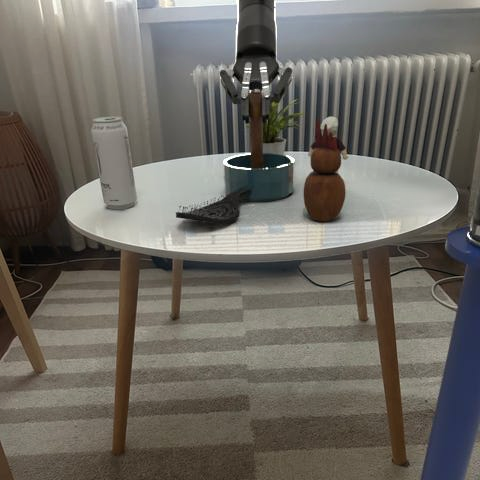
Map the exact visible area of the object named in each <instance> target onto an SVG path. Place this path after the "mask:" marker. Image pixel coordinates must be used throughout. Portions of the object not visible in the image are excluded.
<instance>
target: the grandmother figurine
mask: <svg viewBox="0 0 480 480" xmlns="http://www.w3.org/2000/svg"><path fill="white" fill-rule="evenodd" d="M325 124H327V131H328V136H329V133H330V132H332V140H333V138H336V141H337V149H338V150H339V152H340V154H341V158H342V160H344V161H346V160H348V159H349V155H348V152H347V148H346V146H345V145H344V143H343V141H342V140H341V139H340V138H339V137H336V136H335V135H336V133H337V130H338V127H339V120H338V118H337V117H335V116H331V115H330V116H328V117H326V118H325V119H323V121H322V123H320V128H321V132H323V131H324V126H325ZM314 149H315V141H314V142H312V144H311V145H310V148H309V151H308V152H307V155H308V157H309V158H311V154H312V152H313V150H314ZM336 173H338V174H339V170H338V171H337V172H336Z"/></svg>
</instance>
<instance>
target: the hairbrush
mask: <svg viewBox="0 0 480 480" xmlns="http://www.w3.org/2000/svg"><path fill="white" fill-rule="evenodd" d="M249 194H251V189H242V188H239V189H237V190H235V191H233V192H231V193H230V194H227V195H226V196H223V195H221V196H219V198H217V197H214V199H210V203H209V201H203V204H200V205H196V204H194V205H193V204H192V205H189V207H188V206H182V205H179V210H181V211H182V212H180V211H176V212H175V218H176V219H183V220H189V221H195V222H200V223H207V224H213V225H222V226H223V225H224V226H225V225H227V224H231V223H233V222H236V221H237V220H238V218H239V216H240V201H241V200H240V198H242V197H244V196H247V195H249ZM216 199H217V201H216ZM198 207H199V208H198ZM181 208H182V209H181ZM189 208H190V209H189Z"/></svg>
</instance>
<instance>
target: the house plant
mask: <svg viewBox="0 0 480 480" xmlns="http://www.w3.org/2000/svg"><path fill="white" fill-rule="evenodd" d="M287 93H288V92H287V91H285V93H284V95H283V97H282V98H281V100H280V102H279V103H275V102H273V103H271V104H270V118H269V120H266V123H263V153H272V154H281V155H285V152H286V151H285V150H286V144H287V139H285V138H283V137H280V136H281V131H283V130H286V129H288V128H295V129H297V126H298V127H301V126H300V125H299V124H297V122H295V121H293V122H288V121H290V120H292V119H294V118H297V117H298V116H303V115H306V114H307V112H299V113H291V114H288V115H285V116H283V115H284V113H285V112H286V111H287V110H289V109H294V108H295V107H294V106H292V105H295V104H297V102H296V101H298V100H299V98H298V99H294V100H292V101H291V102H290V103H288V104H287V105H286V106H284V107H282V109H281V110H279V111H278V108H279V105H280V103H281V101H282V99H283V98H284V97H285V95H286V94H287ZM300 103H301V102H300V101H299V104H300ZM277 111H278V113H277ZM287 122H288V123H287ZM295 125H296V126H295ZM246 129H248V130H247V131H246V133H248V132H250V126H249V124H247V125H246V126H245V128H244V130H246Z"/></svg>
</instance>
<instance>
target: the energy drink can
mask: <svg viewBox="0 0 480 480" xmlns="http://www.w3.org/2000/svg"><path fill="white" fill-rule="evenodd" d="M92 122H93V124H92V127H91V129H90V133H91V137H92V144H93V149H94V154H95V155H94V156H95V161H96V165H97V171H98V177H99V183H100V188H101V194H102V201H103V203H104V204H105V205H107V208H108V209H110V210H116V211H117V210H127V209H130V208H133V207H135V205H136V201H137V200H138V195H137V188H136V182H135V175H134V174H135V173H134V167H133V160H132V155H131V153H132V152H131V148H130V140H129V139H130V138H129V132H128V128H127V126H126V124H125V123H124V121H123V117H122V116H103V117H96V118H93V119H92Z"/></svg>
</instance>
